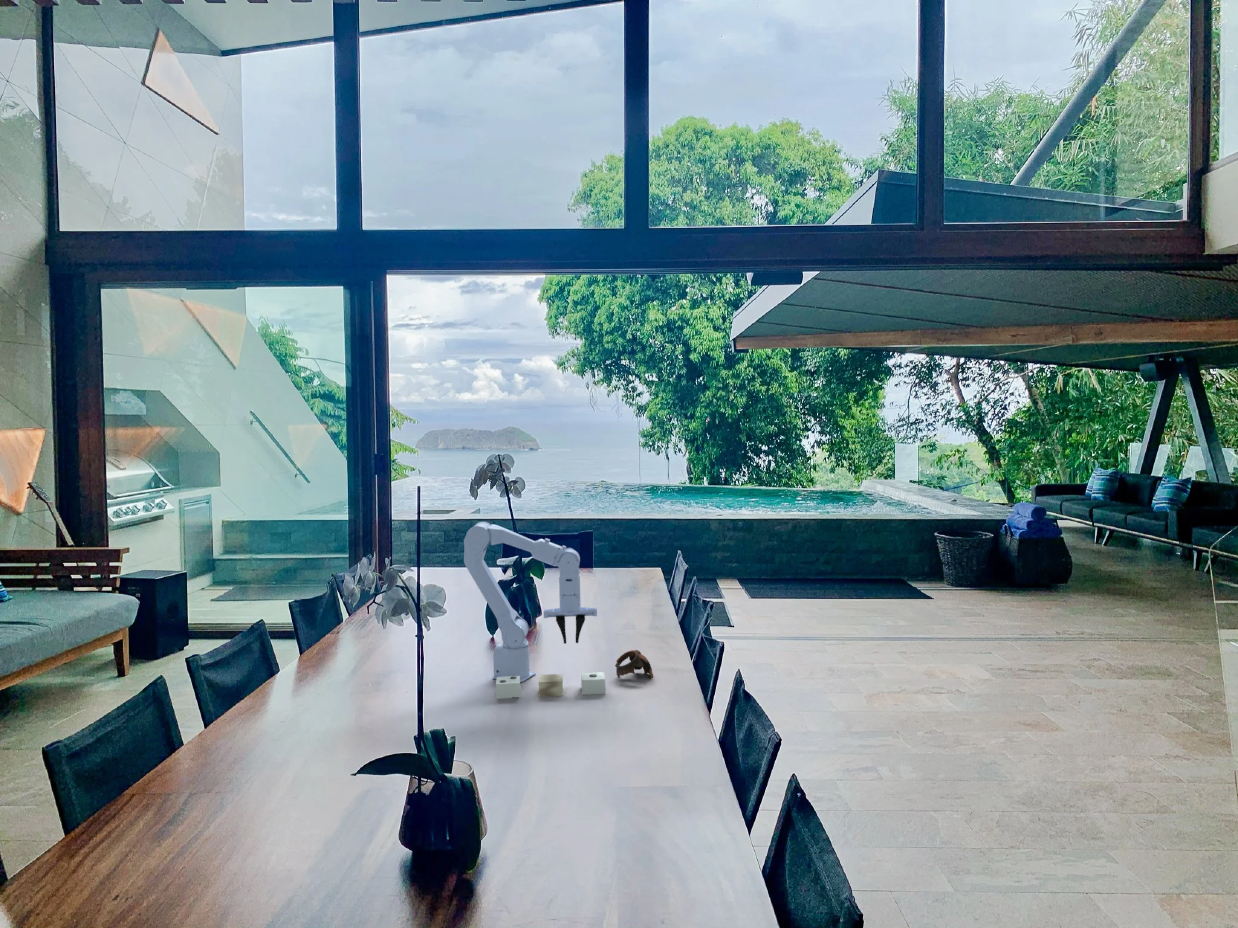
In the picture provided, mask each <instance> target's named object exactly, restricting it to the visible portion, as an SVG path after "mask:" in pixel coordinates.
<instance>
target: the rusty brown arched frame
mask: <svg viewBox="0 0 1238 928" xmlns="http://www.w3.org/2000/svg"><path fill="white" fill-rule="evenodd" d="M627 659H629V662H628V663H626V664H623V665H622V663H623V662H624V661H625V660H627ZM650 663H651V662H650V661H649V660H648V658H647V657H646V656H645V655H644V654H642V653H641V651H639V650H637V649H635V650H633V649H632V650H629V651H627V652H624V653H623V654H621V655H620V656H619V657H618V658H617V660H616V663H615V665H614V667H615V668H616V676H617V677H618V678H620V677H621V676H622V677H623V676H624V675H629V674H633V675H635V671H636V670H639V671H640V670H642V669H643V672H644V674H649V677H650V679H653V677H654V673H653V668H652V665H651V664H650Z"/></svg>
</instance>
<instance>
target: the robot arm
mask: <svg viewBox="0 0 1238 928" xmlns="http://www.w3.org/2000/svg"><path fill="white" fill-rule="evenodd" d="M500 544H505V545H508V546H511V547H514V548H517V549H521V550H522V551H526V552H528V553H530V554H531V556H532V558H533V559H535V560H537V561H540V562H542V563H544V564H548V565H550V566H553V567H557V568H558V569H559V577H558V584H559V585H558V586H559V587H558V589H559V596H558V597H559V607H557V608H549V609H547V608H546V609H543V619H548V618H555V621H556V623H557V625H558V628H559V630H560V632H561V635H562V641H563V644H567V635H566V633H567V632H566V618H567V617H575V644H579V640H580V635H581V631H582V628H583V625H584V624H585V621H586V617H597V616H598V608H597V607H585V606H584V607H582V606H581V577H580V562H581V556H580V554H579V552H578V551H576V550H575V549H574V548H572V547H567V546H566V545H562V546H561V545H559V544H556V543H554V542H551V539H550V538H546V537H545V538H544V539H543V538H539V539H537V540H533V539H531V538H528V537H526V536H524V535H521V534H519V533H517V532H515V531H512V530H510V529H507V528H505V527H504V526H503V527H502V526H500V525H497V524H493V523H492V524H490V523H489V522H487V521H479V522H477V523H475V525H473V526H472V527H470V528H469V529H468V530H467V532H466V535H465V537H464V539H463V545H464V546H463V547H464V549H463V550H464V551H463V563H464V566H465V568H466V569H467V571H468V572H469V574H470V576H471V577H472V580H473V581H474V582H475V584H476V586H477V587H478V589H479V591H480V593H481V594H482V596H483V598H484V600H485V601H486V602H487V604H488V606H489V608H490V610H491V611H492V613H493V614H494V615H493V616H494V617H495V619H496V621H497V625H498V629H499V631H500V633H501V640H502V643H499V644H497V645H496V646H495V647H494V651H493V657H492V658H493V660H492V661H493V676H492V679H494V680H497V677H506V676H520V683H523V682H525V681H526V680H528V679H529V678H532V677H533V676H535V675H536V673H537V672H535V671H530V669H531V667H530V645H529V644H530V643H529V640H528V639H527V638H526V637H527V635H528V634H529V633H528V632H529V624H528V622H527V620H525V619H524V618H522V617H521V616H520V615H519V613H518V612H517V611H516V610H515V609H514V607H512V606H511V604H510V602H509V600H508V599H507V596H506V595H505V594H504V592H503V590H502V588H501V587H500V585H499V583H498V582H497V580H496V578H495V577H494V575H493V573H492V572H491V570H490V568H489V566H488V565H487V563H486V561H485V560H484V558H485V555H486V552H487V549H488V546H489V545H491V546H495V545H500Z"/></svg>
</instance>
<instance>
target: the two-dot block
mask: <svg viewBox="0 0 1238 928" xmlns="http://www.w3.org/2000/svg"><path fill="white" fill-rule="evenodd" d="M495 681H496V682H495V695H496V696H495V697H496V699H497V700H499V699H500V700H501V699H503V700H504V699H513V698H512V697H520V698H521V682H520V676H506V677H497V679H495Z"/></svg>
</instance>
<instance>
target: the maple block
mask: <svg viewBox="0 0 1238 928" xmlns="http://www.w3.org/2000/svg"><path fill="white" fill-rule="evenodd" d="M563 679H564V678H563V673H555V674H554V673H553V674H552V673H551V674H539V677H538V697H539V698H540V697H541V698H542V697H563V691H564V685H563V684H564V683H563V681H564V680H563Z"/></svg>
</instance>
